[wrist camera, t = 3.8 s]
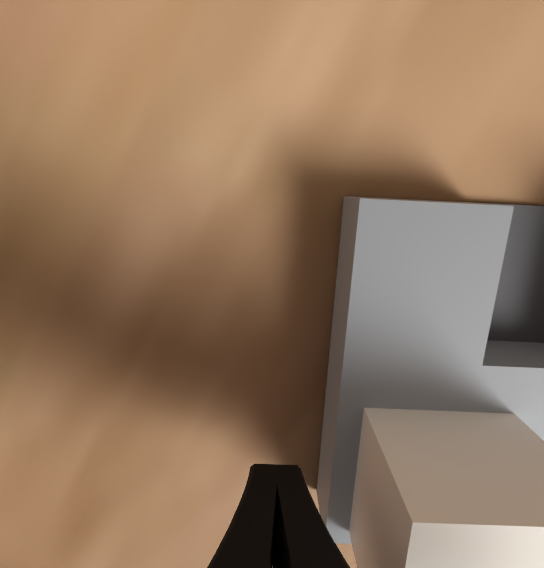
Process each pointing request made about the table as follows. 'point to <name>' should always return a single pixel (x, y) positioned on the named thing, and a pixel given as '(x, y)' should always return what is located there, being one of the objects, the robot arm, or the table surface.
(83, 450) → the table surface
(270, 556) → the robot arm
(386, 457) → the block
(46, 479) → the table surface
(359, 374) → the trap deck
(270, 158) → the table surface
